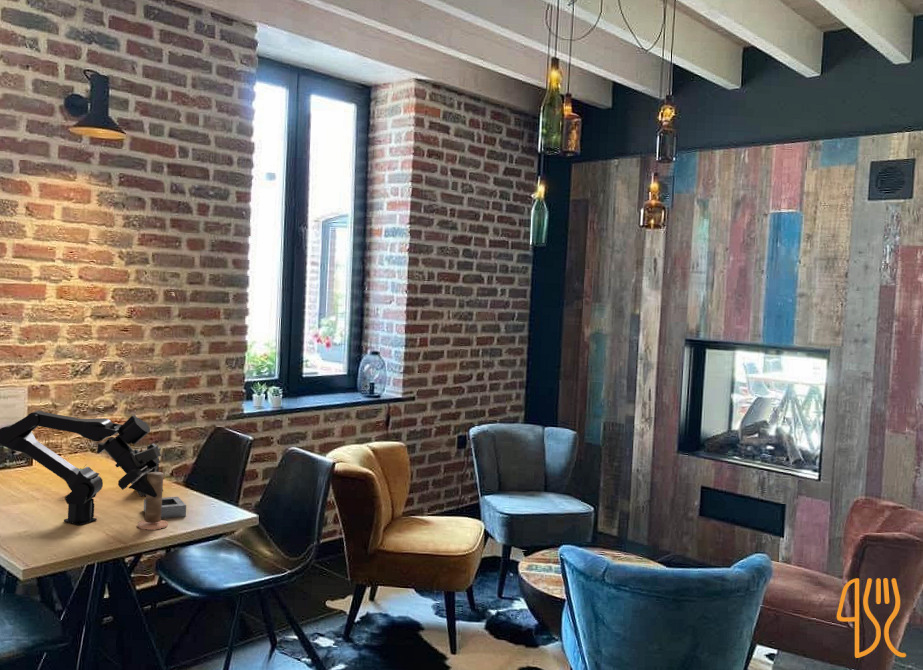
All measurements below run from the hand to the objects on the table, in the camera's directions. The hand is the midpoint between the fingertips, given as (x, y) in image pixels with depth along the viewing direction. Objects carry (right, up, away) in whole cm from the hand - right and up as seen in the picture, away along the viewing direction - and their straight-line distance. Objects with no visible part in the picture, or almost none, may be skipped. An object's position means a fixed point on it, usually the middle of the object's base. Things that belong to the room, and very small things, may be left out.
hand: (159, 494), depth 232 cm
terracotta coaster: (-2, -9, +1) cm, 10 cm away
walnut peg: (-2, -8, 0) cm, 8 cm away
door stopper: (-17, -6, +34) cm, 39 cm away
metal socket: (-3, -9, +13) cm, 16 cm away
